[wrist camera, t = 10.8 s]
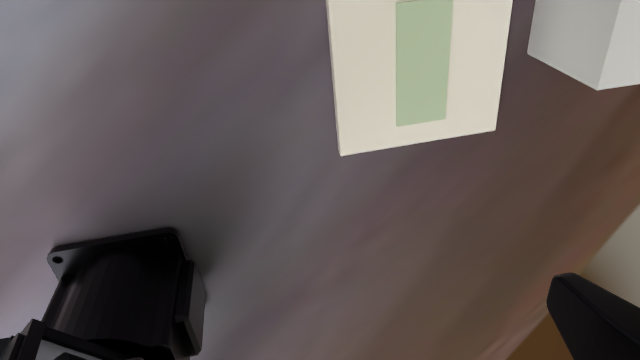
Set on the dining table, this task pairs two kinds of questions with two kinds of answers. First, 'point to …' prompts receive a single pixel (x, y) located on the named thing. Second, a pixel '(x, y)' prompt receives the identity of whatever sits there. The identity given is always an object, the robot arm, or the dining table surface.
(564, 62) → the grey cube
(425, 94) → the card
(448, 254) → the dining table surface
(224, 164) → the dining table surface
